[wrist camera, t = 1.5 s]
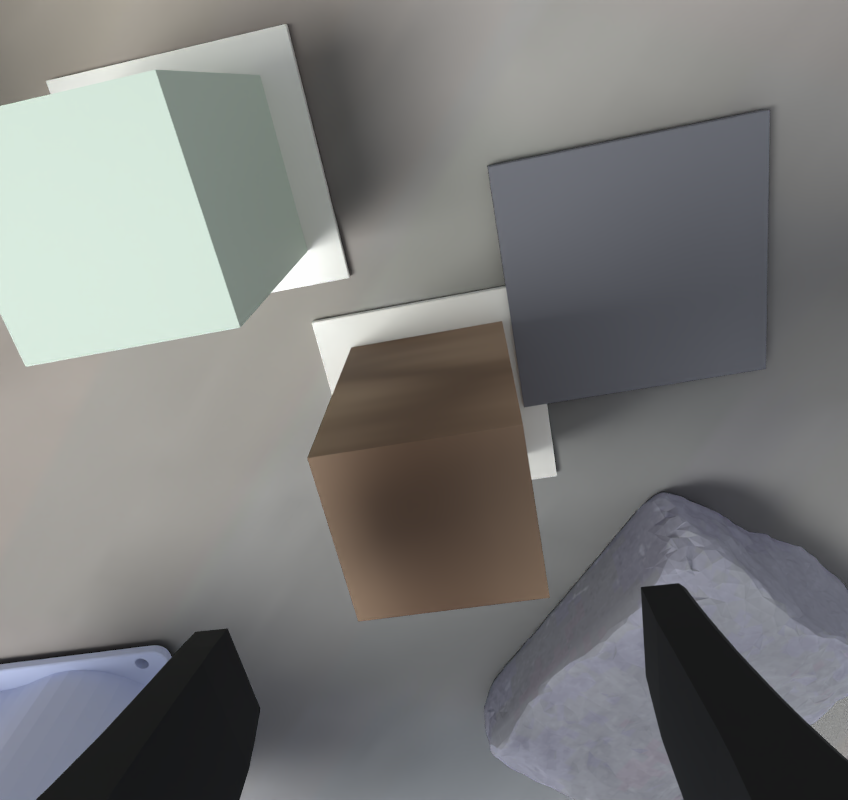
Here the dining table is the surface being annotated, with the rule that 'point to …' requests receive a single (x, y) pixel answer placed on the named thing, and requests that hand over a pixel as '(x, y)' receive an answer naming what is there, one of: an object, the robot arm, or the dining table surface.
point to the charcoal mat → (637, 259)
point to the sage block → (140, 212)
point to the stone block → (625, 660)
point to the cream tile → (433, 318)
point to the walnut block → (429, 476)
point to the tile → (291, 122)
